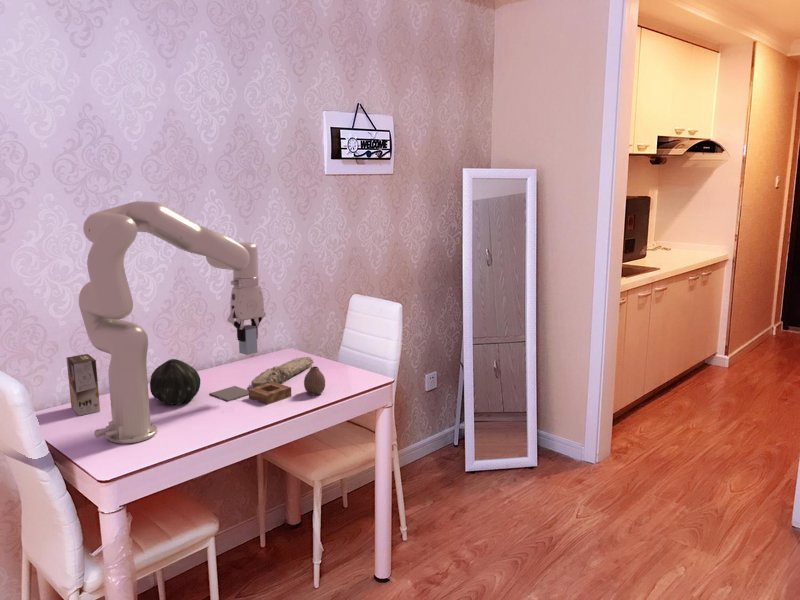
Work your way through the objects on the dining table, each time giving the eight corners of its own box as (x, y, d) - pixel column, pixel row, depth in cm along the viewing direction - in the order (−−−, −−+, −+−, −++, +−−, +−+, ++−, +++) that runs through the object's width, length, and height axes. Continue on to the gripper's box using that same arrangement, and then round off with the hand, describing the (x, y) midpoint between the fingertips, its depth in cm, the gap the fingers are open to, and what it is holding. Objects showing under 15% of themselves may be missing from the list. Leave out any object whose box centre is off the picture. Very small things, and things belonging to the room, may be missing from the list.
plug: (247, 354, 203) (245, 328, 202) (239, 352, 206) (238, 326, 204) (257, 352, 206) (256, 326, 205) (249, 350, 209) (248, 324, 207)
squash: (184, 372, 215) (158, 346, 204) (216, 381, 207) (191, 355, 197) (158, 408, 208) (130, 384, 197) (191, 419, 201) (163, 394, 190)
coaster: (228, 401, 203) (228, 400, 203) (209, 394, 210) (209, 393, 210) (253, 393, 211) (253, 392, 211) (234, 386, 217) (234, 385, 217)
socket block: (267, 404, 201) (266, 395, 200) (248, 398, 206) (248, 389, 206) (291, 396, 209) (291, 387, 208) (273, 390, 214) (272, 381, 214)
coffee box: (101, 411, 194) (96, 359, 191) (78, 416, 190) (73, 363, 187) (92, 403, 201) (88, 353, 198) (70, 407, 197) (65, 356, 194)
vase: (319, 397, 207) (319, 371, 206) (300, 395, 210) (299, 369, 208) (328, 391, 214) (328, 365, 212) (310, 388, 216) (309, 363, 214)
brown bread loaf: (320, 368, 244) (297, 366, 248) (319, 354, 243) (296, 353, 247) (269, 391, 212) (244, 389, 215) (269, 376, 211) (243, 374, 215)
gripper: (230, 287, 193) (232, 346, 197) (274, 281, 206) (276, 337, 209) (215, 284, 198) (218, 342, 201) (260, 278, 211) (261, 333, 214)
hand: (247, 338), depth 205 cm, fingers closed on plug, 4 cm apart
